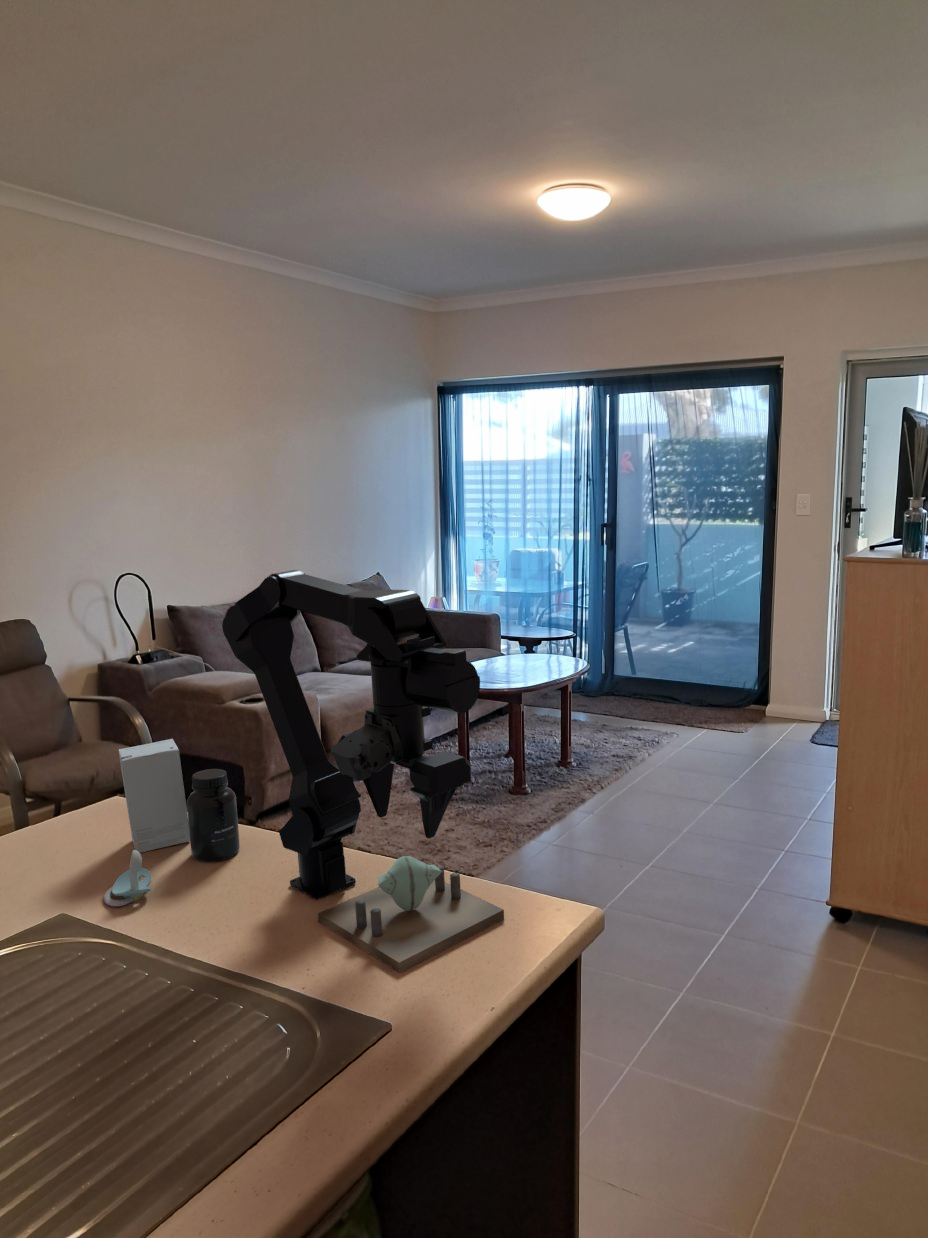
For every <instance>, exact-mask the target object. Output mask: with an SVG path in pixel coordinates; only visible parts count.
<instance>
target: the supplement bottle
mask: <svg viewBox="0 0 928 1238" xmlns="http://www.w3.org/2000/svg"><path fill="white" fill-rule="evenodd" d="M227 775H228V773H227V771H226V770H224V769H221V768H210V769H209V768H208V769H204V770H200V771H196V772H195V773H194V774H192V776H191V781H192V785H191V789H192V790H193V792H191V793H190V794H189V796H188V797H187V800H186V808H187V815H188V822H189V833H190V841H189V843H190V851H191V856H192V857H193V858H194V859H195V860H196V861H199V862H205V863H213V862H214V863H215V862H220V861H225V860H228V859H230V858H231V857H234V856H235V855H236V854H237V853H238V852H239V850H240V844H241V843H240V832H239V819H238V808H237V807H238V806H237V796H236V793H235V792H234V790H233V789H232V788H230V787H228V785H229V781H228V776H227Z"/></svg>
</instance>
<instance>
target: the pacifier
mask: <svg viewBox="0 0 928 1238" xmlns="http://www.w3.org/2000/svg"><path fill="white" fill-rule="evenodd" d="M129 859H130V860H129V866H128V870H126V871H124V872H123V873H121V874H120V875H119V876H118V878H117V879H116V880H115V881H114V883H113V886H111V887H110V888H109V889H107V891H106V892H105V893H104V896H103V901H104V903H105V904H106V905H108V906H111V907H122V906H125V905H128V904H130V903H131V902H136V901H138V900H140V899H141V898H142V897H143V896H144V894H146V893H147V892H151V887H149V886H150V884H151V883H152V874H151V872H150V871H149V870H148V869H146V868H144V867H142V864H143V858H142V854H141V853H139V852H138V851H136V850H135V849H133V850H132V851H131V855H130V858H129ZM141 878H143V879H142V880H140V879H141ZM113 895H114V896H116V897H123V899H113V898H112V896H113Z"/></svg>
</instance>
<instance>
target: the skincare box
mask: <svg viewBox="0 0 928 1238" xmlns="http://www.w3.org/2000/svg"><path fill="white" fill-rule="evenodd" d="M118 757H119V764H120V770H121V771H120V772H121V776H122V781H123V782H122V783H123V788H124V789H123V791H124V794H125V795H124V796H125V802H126V808H127V814H128V820H129V827H130V834H131V839H132V844H133V847H134V850H136V851H138V852H139V853H140V854H141V853H145V852H149V851H153V850H157V849H162V848H167V847H171V846H174V845H181V844H184V843H190V833H189V822H188V811H187V800H186V794H185V787H184V780H183V773H182V771H183V770H182V765H181V764H182V763H181V756H180V749H179V747H178V745H177V744H176V742H175V740H174V739H173V738H169V739H165V740H160V741H159V740H158V741H155V742H151V743H145V744H141V745H140V744H139V745H136V746H131V747H124V748H119V749H118Z"/></svg>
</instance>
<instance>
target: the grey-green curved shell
mask: <svg viewBox="0 0 928 1238" xmlns="http://www.w3.org/2000/svg"><path fill="white" fill-rule="evenodd" d="M436 866H437V865H435V864H427V863H426V862H423V861H420V860H418V859H416V858H415V857H413V856H411V855H403V856H401V857H398V858H396V860H395V861H394V862H393V864H392V865H391V866H390V867H389V869H388V870H387V871H386V873H384V874H382V875H381V874H380V875H379V876H378V877H377V879H378V882H377V886H378V887H380V888H381V889H382V890H383V891H384V892H386V893H387V894H389V895H391V897H392V898H393V900H394V902H395V903H396V905H397V906H399V907H400V908H402V909H403V910H405V911H412V910H414V909H416V908H418V907H419V905H420V904H421V902H422V901H423V898H424V895H425V892H426V891H427V889H428V887H429V886H430V884H431V883H432V882H433V881H434V880H435V879H436V878H437V877H438V875H439V874H440V873H441V872H442V871H441V870H440V869H439V868H438V867H436Z"/></svg>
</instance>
